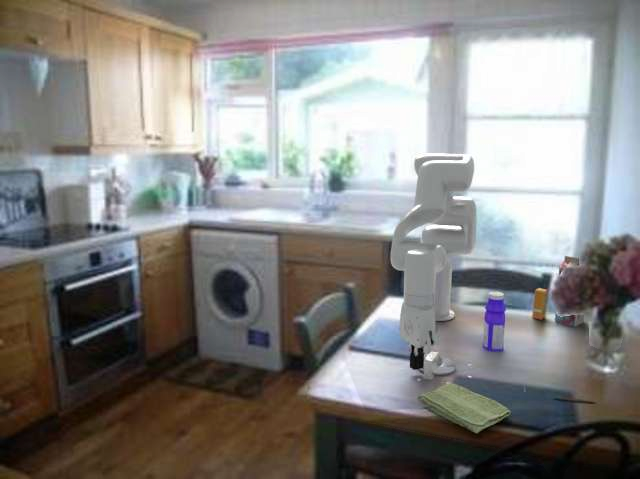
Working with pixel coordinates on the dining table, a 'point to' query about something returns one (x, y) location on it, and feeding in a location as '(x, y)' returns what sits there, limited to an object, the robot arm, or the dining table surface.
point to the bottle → (494, 322)
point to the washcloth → (464, 407)
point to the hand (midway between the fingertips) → (416, 367)
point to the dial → (436, 365)
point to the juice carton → (572, 319)
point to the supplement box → (539, 303)
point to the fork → (572, 399)
